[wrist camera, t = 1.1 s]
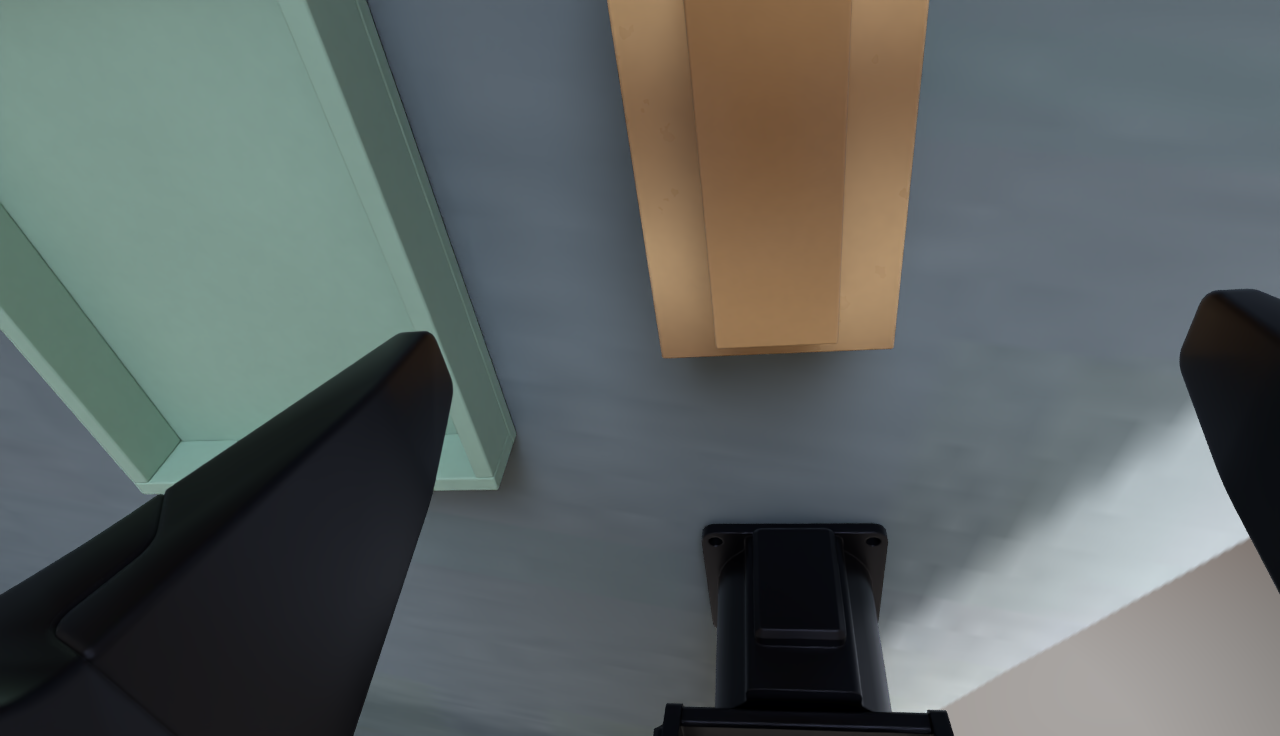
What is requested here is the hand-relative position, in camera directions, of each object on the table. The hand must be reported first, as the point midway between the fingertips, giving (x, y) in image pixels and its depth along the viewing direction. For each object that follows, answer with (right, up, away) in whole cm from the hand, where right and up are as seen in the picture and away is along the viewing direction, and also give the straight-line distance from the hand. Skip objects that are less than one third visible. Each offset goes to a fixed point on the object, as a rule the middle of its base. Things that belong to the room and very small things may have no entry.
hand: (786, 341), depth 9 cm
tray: (-14, +4, +11) cm, 18 cm away
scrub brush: (+1, +6, +8) cm, 10 cm away
